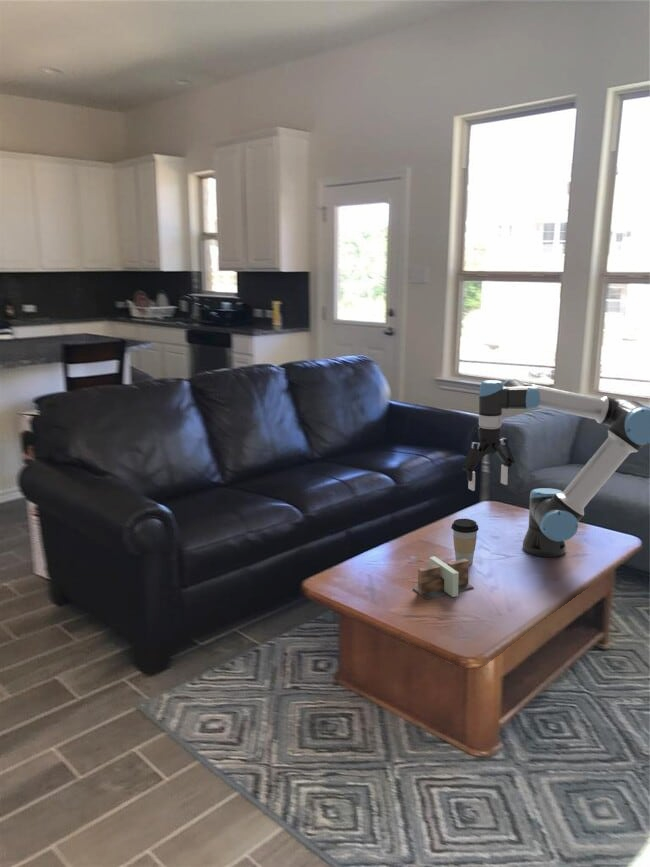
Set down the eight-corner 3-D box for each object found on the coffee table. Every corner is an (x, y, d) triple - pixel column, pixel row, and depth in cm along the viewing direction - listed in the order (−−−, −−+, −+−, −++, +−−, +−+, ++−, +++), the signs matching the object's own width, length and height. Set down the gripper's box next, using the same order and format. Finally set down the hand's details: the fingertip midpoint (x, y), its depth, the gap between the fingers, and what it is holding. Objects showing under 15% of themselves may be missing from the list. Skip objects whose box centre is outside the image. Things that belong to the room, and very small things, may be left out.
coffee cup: (477, 568, 241) (478, 528, 238) (450, 566, 243) (451, 526, 240) (477, 557, 250) (478, 518, 247) (450, 555, 252) (451, 517, 249)
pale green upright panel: (429, 579, 232) (429, 557, 230) (434, 578, 233) (434, 556, 231) (452, 597, 220) (453, 573, 218) (457, 595, 221) (458, 572, 219)
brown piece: (459, 578, 234) (460, 555, 232) (473, 588, 227) (474, 564, 225) (413, 589, 227) (413, 565, 225) (426, 599, 220) (426, 574, 218)
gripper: (512, 420, 241) (510, 478, 246) (452, 428, 232) (451, 488, 237) (526, 424, 235) (524, 484, 240) (465, 433, 225) (464, 495, 230)
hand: (487, 486), depth 238 cm, fingers open, 13 cm apart
